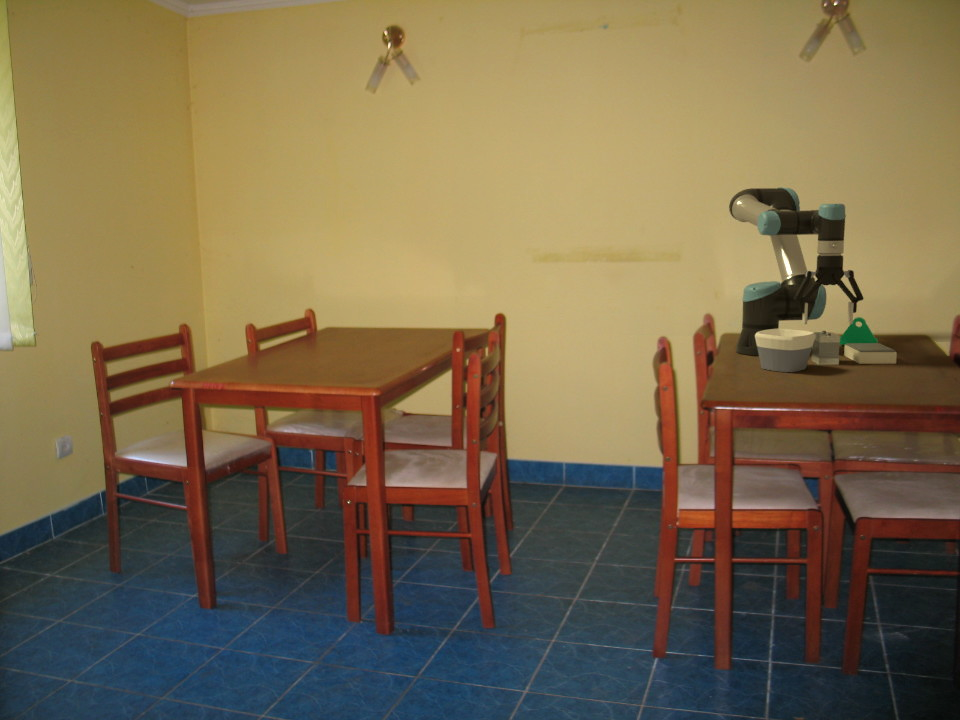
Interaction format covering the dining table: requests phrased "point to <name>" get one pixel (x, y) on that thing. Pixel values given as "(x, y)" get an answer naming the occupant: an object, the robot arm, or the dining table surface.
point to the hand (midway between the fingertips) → (827, 323)
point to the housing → (826, 348)
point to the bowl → (784, 349)
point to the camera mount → (858, 333)
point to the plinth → (870, 353)
